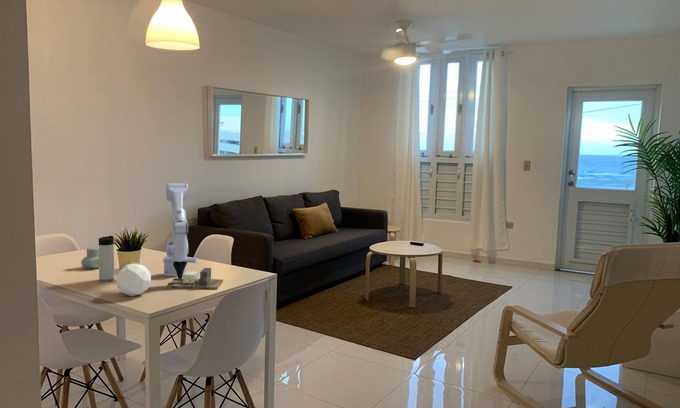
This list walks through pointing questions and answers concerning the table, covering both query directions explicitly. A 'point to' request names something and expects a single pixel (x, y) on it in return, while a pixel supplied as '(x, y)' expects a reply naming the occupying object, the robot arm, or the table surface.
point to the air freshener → (91, 258)
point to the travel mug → (106, 259)
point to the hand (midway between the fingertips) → (180, 278)
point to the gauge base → (202, 283)
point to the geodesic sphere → (133, 279)
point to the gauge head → (190, 277)
